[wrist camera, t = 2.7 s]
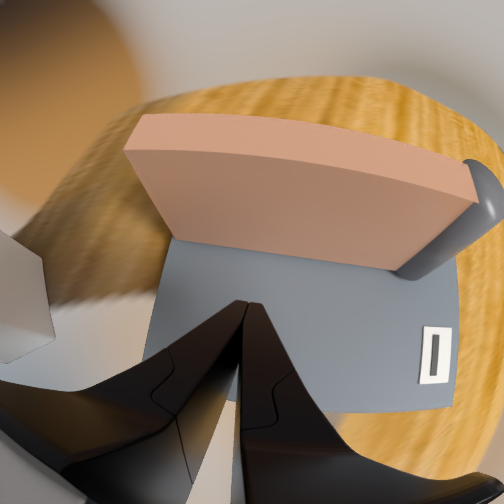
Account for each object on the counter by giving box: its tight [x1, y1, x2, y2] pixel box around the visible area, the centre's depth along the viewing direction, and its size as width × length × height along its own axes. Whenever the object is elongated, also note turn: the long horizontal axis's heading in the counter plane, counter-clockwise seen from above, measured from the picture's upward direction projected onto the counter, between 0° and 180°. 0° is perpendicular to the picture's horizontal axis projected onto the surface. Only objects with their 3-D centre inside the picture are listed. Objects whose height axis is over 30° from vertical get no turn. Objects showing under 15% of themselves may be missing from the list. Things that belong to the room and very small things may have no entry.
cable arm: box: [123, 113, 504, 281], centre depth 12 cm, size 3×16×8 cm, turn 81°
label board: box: [142, 236, 459, 413], centre depth 16 cm, size 15×20×1 cm
